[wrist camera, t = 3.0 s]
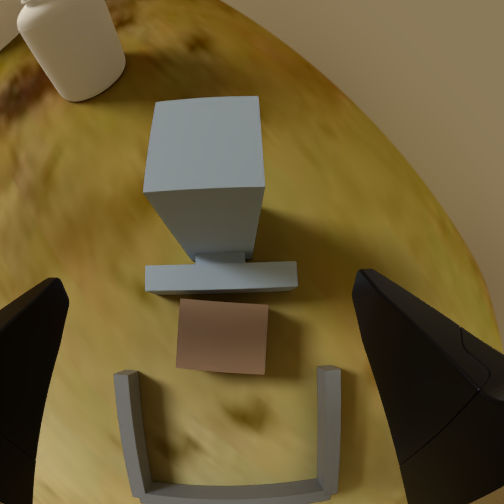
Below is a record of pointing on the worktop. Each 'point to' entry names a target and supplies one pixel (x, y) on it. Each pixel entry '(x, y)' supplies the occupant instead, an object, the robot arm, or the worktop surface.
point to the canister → (9, 20)
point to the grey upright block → (210, 196)
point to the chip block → (222, 336)
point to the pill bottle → (73, 44)
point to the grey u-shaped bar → (232, 497)
